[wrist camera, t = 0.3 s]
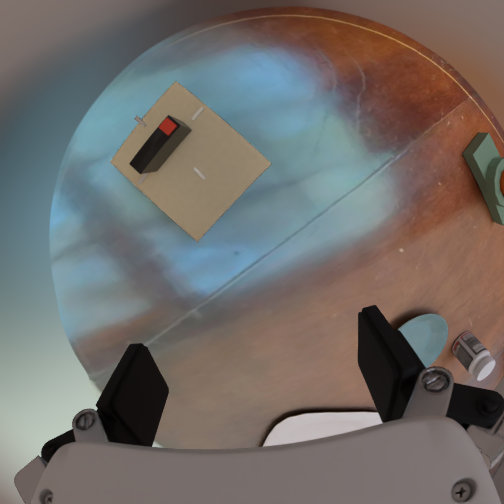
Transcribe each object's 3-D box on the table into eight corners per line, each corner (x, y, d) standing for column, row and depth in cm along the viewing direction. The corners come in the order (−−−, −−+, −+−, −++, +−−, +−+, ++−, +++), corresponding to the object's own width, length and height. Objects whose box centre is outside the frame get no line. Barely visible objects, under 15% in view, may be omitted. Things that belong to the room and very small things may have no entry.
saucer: (379, 314, 32) (386, 323, 30) (448, 299, 31) (456, 307, 29) (368, 377, 36) (372, 388, 34) (430, 361, 35) (436, 369, 33)
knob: (157, 171, 24) (139, 174, 20) (146, 162, 23) (127, 164, 19) (192, 130, 22) (179, 124, 18) (181, 120, 22) (167, 114, 18)
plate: (346, 460, 45) (347, 466, 44) (252, 460, 44) (252, 467, 43) (394, 403, 38) (397, 410, 37) (279, 403, 37) (280, 411, 36)
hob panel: (119, 157, 26) (105, 158, 23) (179, 84, 23) (170, 77, 20) (202, 233, 29) (196, 242, 26) (270, 163, 26) (271, 163, 23)
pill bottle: (457, 356, 35) (479, 385, 27) (447, 348, 34) (472, 379, 26) (474, 336, 34) (499, 364, 26) (466, 326, 33) (493, 355, 25)
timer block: (459, 156, 25) (480, 159, 21) (480, 129, 23) (499, 130, 20) (491, 224, 27) (509, 232, 24) (510, 197, 26) (527, 203, 22)
